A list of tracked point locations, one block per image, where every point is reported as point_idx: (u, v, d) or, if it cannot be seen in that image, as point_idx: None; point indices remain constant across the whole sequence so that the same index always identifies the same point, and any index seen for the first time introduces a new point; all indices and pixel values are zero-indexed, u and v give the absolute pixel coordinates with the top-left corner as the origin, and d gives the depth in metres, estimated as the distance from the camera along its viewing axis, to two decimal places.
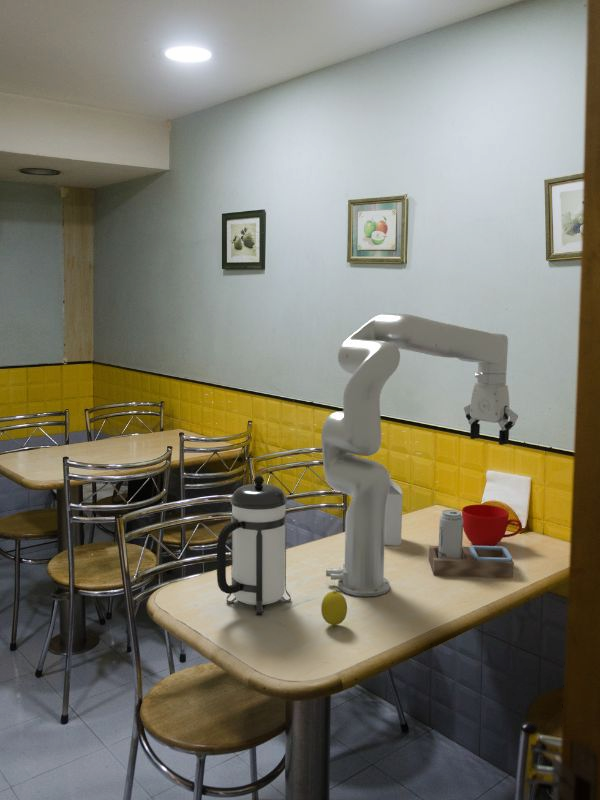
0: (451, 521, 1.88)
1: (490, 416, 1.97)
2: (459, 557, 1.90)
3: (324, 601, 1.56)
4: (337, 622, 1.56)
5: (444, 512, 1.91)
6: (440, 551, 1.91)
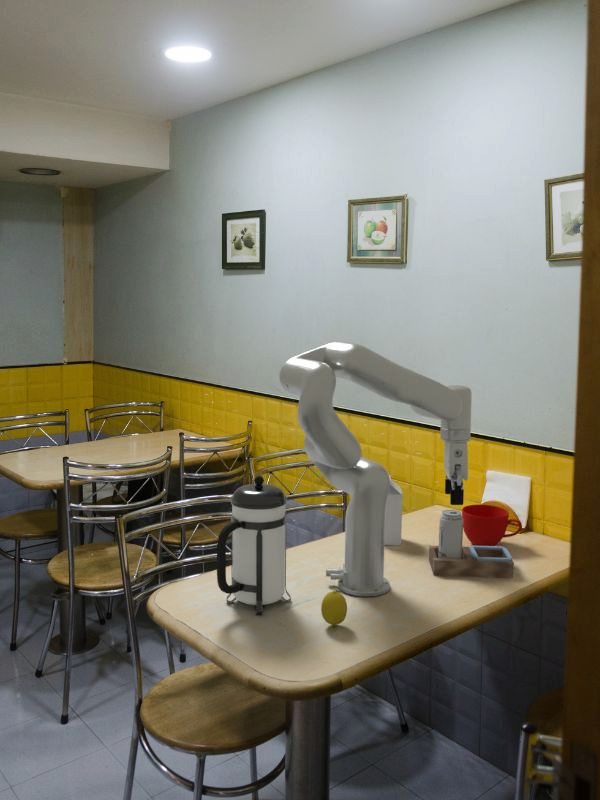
0: (451, 521, 1.88)
1: None
2: (459, 557, 1.90)
3: (324, 601, 1.56)
4: (337, 622, 1.56)
5: (444, 512, 1.91)
6: (440, 551, 1.91)
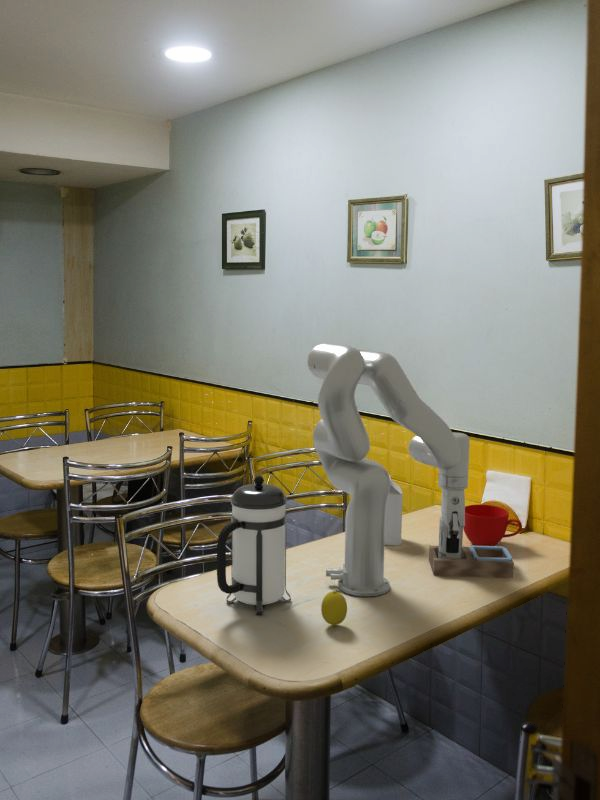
0: None
1: None
2: (459, 557, 1.90)
3: (324, 601, 1.56)
4: (337, 622, 1.56)
5: None
6: (440, 551, 1.91)
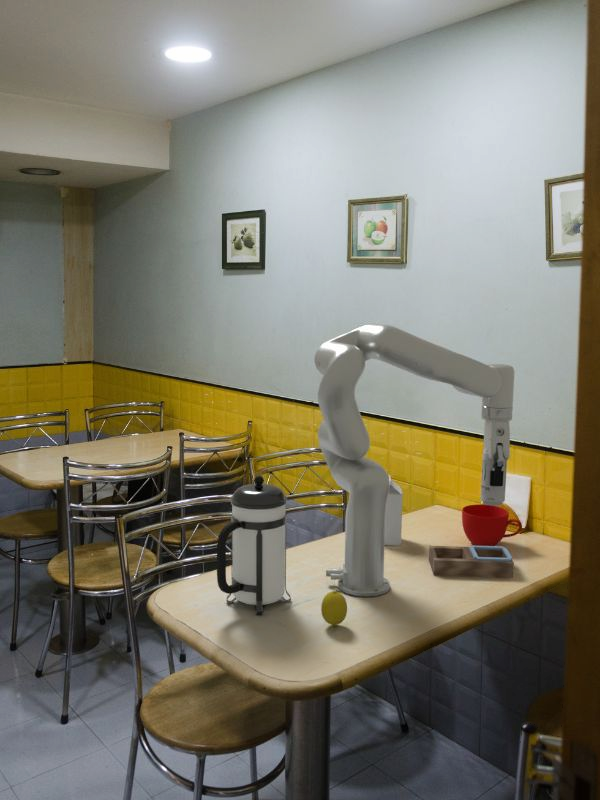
0: None
1: None
2: (503, 491, 1.87)
3: (324, 601, 1.56)
4: (337, 622, 1.56)
5: None
6: (483, 485, 1.88)
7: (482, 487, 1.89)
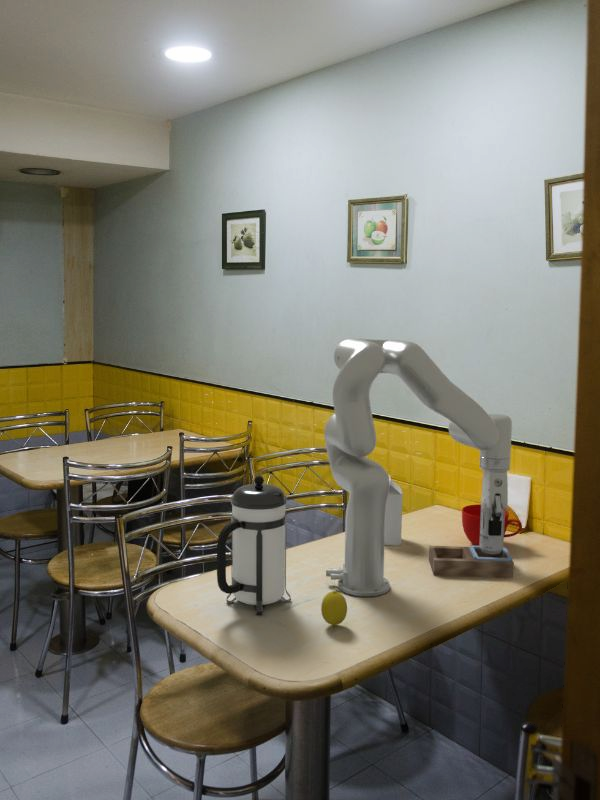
0: None
1: None
2: (501, 540, 1.89)
3: (324, 601, 1.56)
4: (337, 622, 1.56)
5: None
6: (482, 534, 1.90)
7: (481, 535, 1.90)
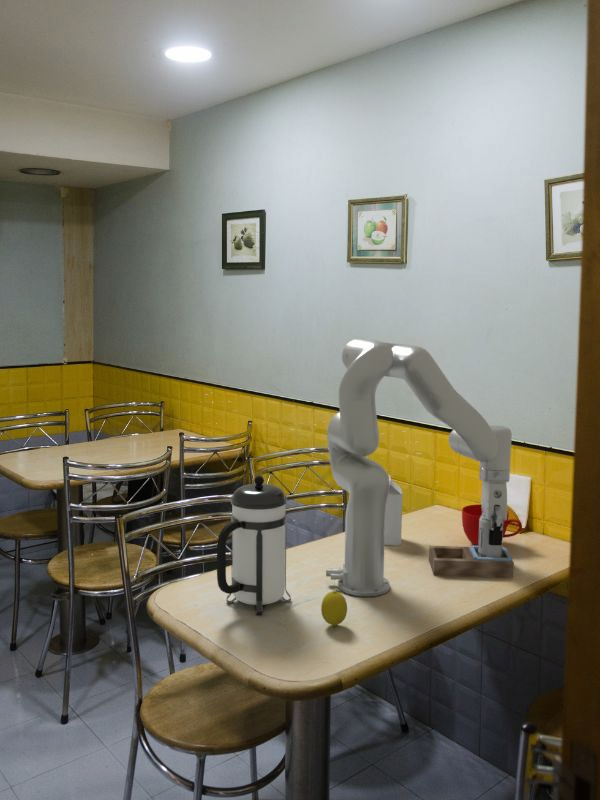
0: None
1: None
2: None
3: (324, 601, 1.56)
4: (337, 622, 1.56)
5: None
6: (480, 552, 1.90)
7: (479, 554, 1.91)
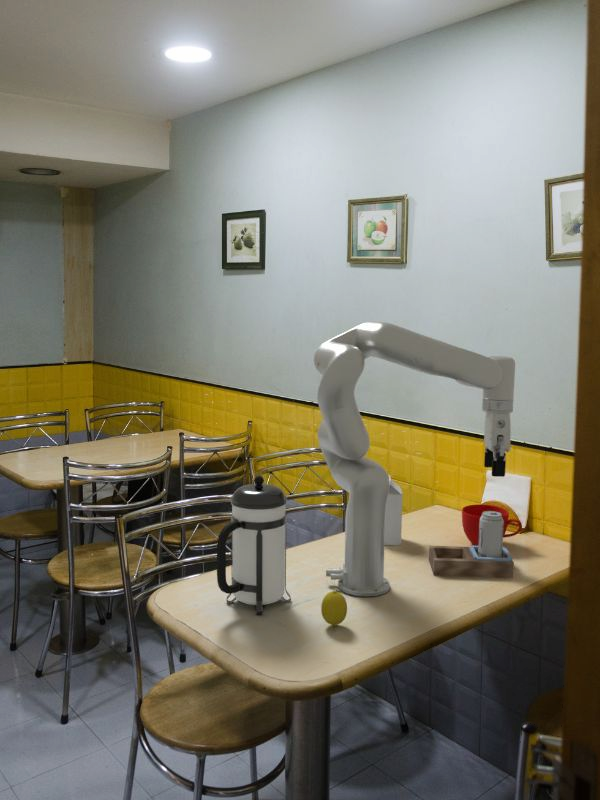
0: (492, 522, 1.88)
1: None
2: None
3: (324, 601, 1.56)
4: (337, 622, 1.56)
5: (484, 513, 1.90)
6: (480, 552, 1.90)
7: (479, 554, 1.91)
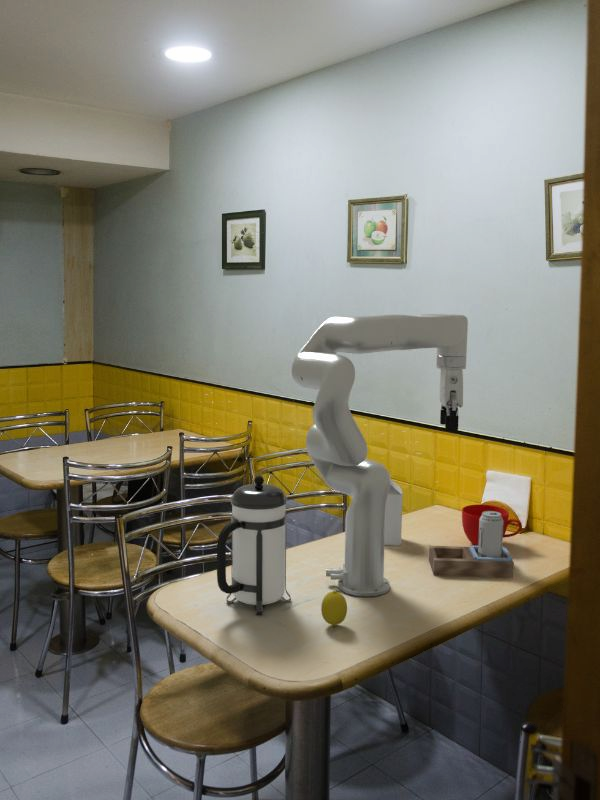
0: (492, 522, 1.88)
1: None
2: None
3: (324, 601, 1.56)
4: (337, 622, 1.56)
5: (484, 513, 1.90)
6: (480, 552, 1.90)
7: (479, 554, 1.91)
